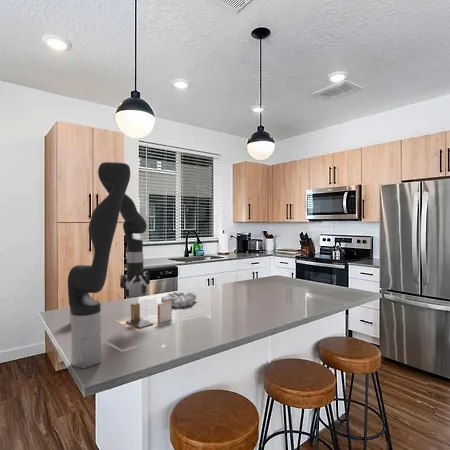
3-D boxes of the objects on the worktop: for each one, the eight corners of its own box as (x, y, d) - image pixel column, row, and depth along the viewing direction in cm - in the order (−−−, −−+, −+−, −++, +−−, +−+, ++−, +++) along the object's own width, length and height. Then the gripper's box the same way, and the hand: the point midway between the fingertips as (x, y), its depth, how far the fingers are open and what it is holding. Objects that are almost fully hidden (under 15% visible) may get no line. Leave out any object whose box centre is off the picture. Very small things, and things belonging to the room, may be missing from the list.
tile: (171, 320, 153) (171, 302, 153) (159, 324, 148) (159, 304, 148) (169, 319, 154) (169, 301, 154) (157, 323, 149) (157, 304, 149)
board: (159, 325, 146) (159, 324, 146) (136, 332, 137) (136, 331, 137) (136, 316, 159) (136, 315, 159) (114, 322, 151) (114, 320, 151)
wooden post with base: (125, 322, 148) (125, 304, 148) (139, 319, 153) (139, 301, 153) (139, 328, 140) (139, 309, 140) (153, 324, 145) (153, 305, 145)
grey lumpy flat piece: (158, 300, 192) (158, 290, 192) (191, 297, 199) (191, 288, 199) (164, 310, 171) (164, 300, 171) (201, 307, 179) (201, 297, 179)
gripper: (125, 263, 141) (125, 299, 141) (152, 260, 151) (152, 293, 151) (117, 261, 146) (117, 296, 146) (144, 258, 156) (144, 291, 157)
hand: (135, 295), depth 149 cm, fingers open, 8 cm apart
